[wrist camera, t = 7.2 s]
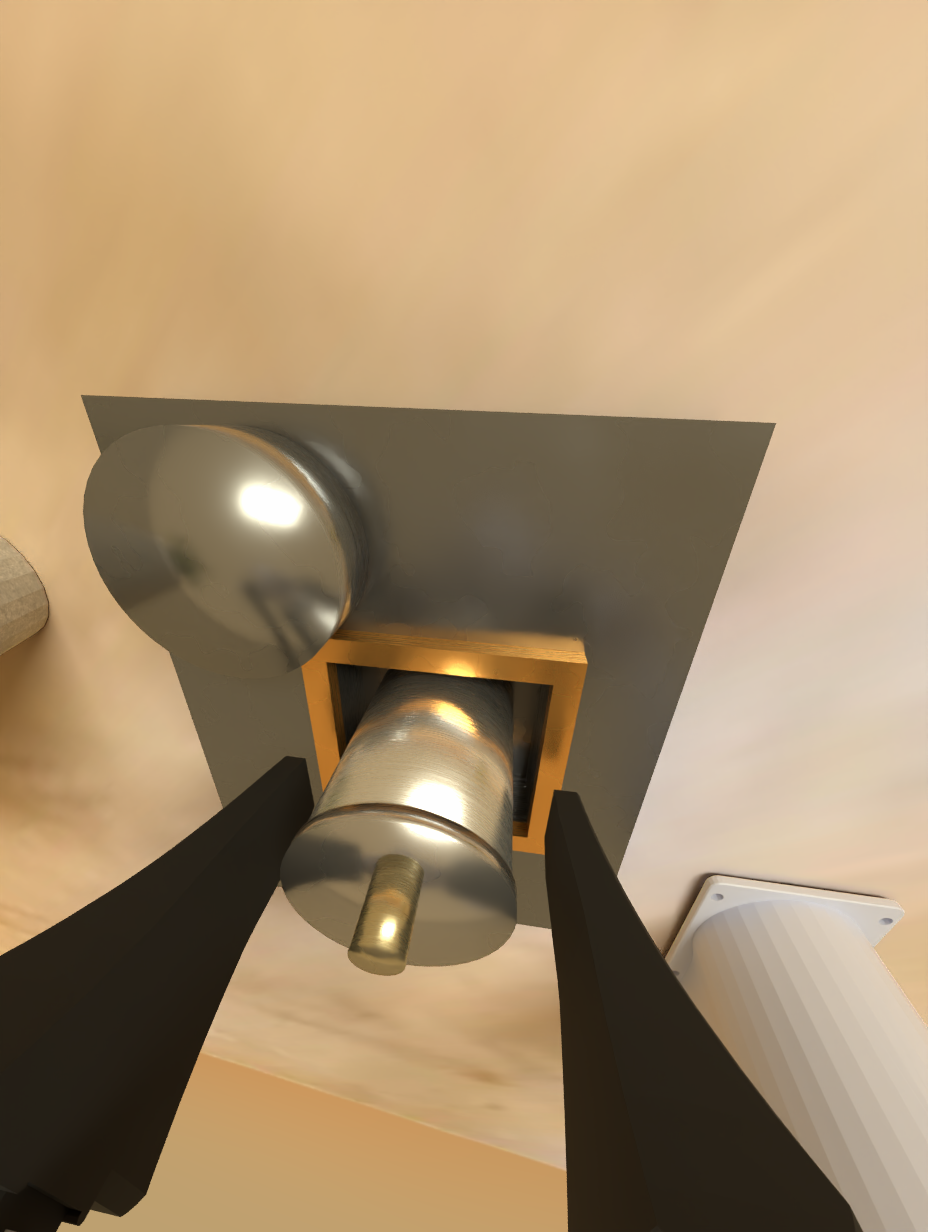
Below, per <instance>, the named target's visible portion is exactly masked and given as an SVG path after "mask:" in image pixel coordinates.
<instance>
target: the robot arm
mask: <svg viewBox="0 0 928 1232" xmlns="http://www.w3.org/2000/svg"><path fill="white" fill-rule="evenodd" d="M314 807H315V805H314V800H313V794H312V789H311V784H310V779H309V773H308V768H307V763H306V758H299V757H291V756H285V757H284V758H283V759H282V760H280V761H279V762H278V763H277V764H275V765H274V766H273V767H272V768H271V769H270V770H268V771H267V772H266V773H265V774H264V775H263V776H261V777H260V778H259V779H258V780H257V781H255V782H254V783H253V784H252V785H251V786H250V787H248V788H247V789H246V790H245V791H244V792H243V793H241V794H240V795H239V796H238V797H237V798H235V799H234V800H233V801H232V802H230V803H229V804H228V805H227V806H226V807H224V808H223V809H222V810H221V811H220V812H218V813H217V814H216V815H215V816H213V817H212V818H211V819H210V820H208V821H207V822H206V823H205V824H203V825H202V826H201V827H199V828H198V829H197V830H196V831H194V832H193V833H192V834H190V835H189V836H188V837H186V838H185V839H184V840H182V841H181V842H180V843H179V844H177V845H176V846H175V847H173V848H172V849H171V850H169V851H168V852H166V853H165V854H164V855H162V856H161V857H160V858H158V859H157V860H155V861H154V862H153V863H151V864H150V865H148V866H147V867H145V868H144V869H142V870H141V871H140V872H138V873H137V874H135V875H134V876H132V877H131V878H129V879H128V880H126V881H125V882H123V883H122V884H120V885H119V886H117V887H116V888H114V889H113V890H111V891H109V892H108V893H106V894H105V895H103V896H101V897H100V898H98V899H96V900H95V901H93V902H92V903H90V904H88V905H87V906H85V907H84V908H82V909H80V910H79V911H77V912H76V913H74V914H72V915H71V916H69V917H67V918H66V919H64V920H63V921H61V922H59V923H57V924H56V925H54V926H52V927H51V928H49V929H47V930H45V931H44V932H42V933H40V934H38V935H37V936H35V937H33V938H31V939H30V940H28V941H26V942H24V943H23V944H21V945H19V946H17V947H15V948H14V949H12V950H10V951H8V952H6V953H4V954H3V955H1V956H0V1232H56V1231H57V1229H58V1227H59V1226H60V1224H61V1222H65V1223H69V1224H73V1225H77V1226H80V1224H81V1223H82V1222H83V1221H84V1220H85V1218H86V1216H87V1214H88V1212H89V1210H94V1211H98V1212H103V1213H107V1214H111V1215H115V1216H119V1217H121V1216H123V1215H124V1214H126V1213H127V1212H129V1211H130V1210H131V1209H132V1208H133V1207H134V1206H135V1205H137V1204H138V1202H139V1201H140V1200H141V1199H142V1198H143V1197H144V1196H145V1195H146V1193H147V1190H148V1188H149V1185H150V1181H151V1179H152V1176H153V1173H154V1171H155V1168H156V1165H157V1163H158V1160H159V1157H160V1154H161V1152H162V1149H163V1146H164V1144H165V1141H166V1138H167V1136H168V1133H169V1130H170V1127H171V1125H172V1122H173V1120H174V1117H175V1114H176V1111H177V1109H178V1106H179V1103H180V1101H181V1098H182V1096H183V1093H184V1091H185V1088H186V1086H187V1083H188V1081H189V1078H190V1075H191V1073H192V1071H193V1068H194V1065H195V1063H196V1061H197V1058H198V1055H199V1053H200V1050H201V1048H202V1045H203V1043H204V1041H205V1038H206V1036H207V1033H208V1031H209V1029H210V1026H211V1024H212V1021H213V1019H214V1017H215V1014H216V1012H217V1010H218V1007H219V1005H220V1002H221V1000H222V998H223V995H224V993H225V991H226V988H227V986H228V984H229V982H230V979H231V977H232V975H233V973H234V970H235V968H236V966H237V963H238V961H239V959H240V957H241V954H242V952H243V950H244V948H245V946H246V944H247V942H248V940H249V938H250V936H251V934H252V932H253V930H254V928H255V926H256V924H257V922H258V920H259V919H260V917H261V915H262V913H263V911H264V909H265V907H266V906H267V904H268V902H269V900H270V898H271V896H272V894H273V893H274V891H275V889H276V887H277V885H278V883H279V881H280V880H281V879H280V868H281V864H282V860H283V858H284V856H285V854H286V852H287V850H288V848H289V846H290V844H291V842H292V840H293V839H294V837H295V835H296V833H297V832H298V831H299V830H300V828H301V827H302V826H303V825H304V824H305V823H307V822H308V820H309V818H310V816H311V814H312V812H313V809H314ZM544 845H545V879H546V888H547V896H548V905H549V913H550V921H551V929H552V938H553V946H554V954H555V962H556V970H557V979H558V989H559V1000H560V1018H561V1039H562V1060H563V1084H564V1108H565V1137H566V1168H567V1198H568V1199H567V1200H568V1232H928V1027H927V1025H926V1024H925V1023H924V1021H923V1020H922V1018H921V1017H920V1015H919V1014H918V1012H917V1011H916V1009H915V1008H914V1006H913V1005H912V1004H911V1002H910V1001H909V999H908V998H907V996H906V995H905V993H904V992H903V990H902V989H901V987H900V986H899V985H898V983H897V982H896V980H895V979H894V977H893V976H892V974H891V973H890V971H889V970H888V968H887V967H886V966H885V964H884V963H883V961H882V960H881V958H880V957H879V955H878V954H877V952H876V951H875V949H874V948H873V947H874V946H875V945H876V944H877V943H878V942H879V941H880V940H881V939H882V938H883V937H884V936H885V935H886V934H887V933H888V932H889V931H890V930H891V929H892V928H893V927H894V926H895V925H896V924H897V923H898V922H899V921H900V919H901V918H902V917H903V916H904V914H905V912H904V910H903V908H902V907H901V906H900V905H899V903H898V902H896V901H894V900H891V899H886V898H878V897H871V896H864V895H857V894H850V893H843V892H835V891H828V890H821V889H814V888H807V887H799V886H792V885H785V884H778V883H771V882H764V881H756V880H749V879H742V878H735V877H728V876H720V875H715V876H711V877H709V878H708V879H707V880H706V881H705V883H704V885H703V887H702V889H701V891H700V892H699V894H698V896H697V898H696V900H695V902H694V904H693V906H692V908H691V910H690V912H689V914H688V915H687V917H686V919H685V921H684V923H683V925H682V927H681V929H680V931H679V933H678V935H677V936H676V938H675V940H674V942H673V944H672V946H671V948H670V950H669V952H668V954H667V956H666V957H665V959H664V957H663V956H662V954H661V953H660V951H659V949H658V948H657V946H656V945H655V943H654V941H653V940H652V938H651V936H650V935H649V933H648V931H647V930H646V928H645V926H644V925H643V923H642V921H641V920H640V918H639V916H638V914H637V913H636V911H635V909H634V907H633V906H632V904H631V902H630V900H629V899H628V897H627V895H626V893H625V891H624V889H623V888H622V886H621V884H620V882H619V880H618V878H617V876H616V874H615V872H614V870H613V868H612V866H611V865H610V863H609V861H608V859H607V857H606V855H605V853H604V851H603V849H602V847H601V844H600V842H599V840H598V838H597V836H596V834H595V831H594V829H593V827H592V825H591V823H590V820H589V818H588V816H587V813H586V811H585V808H584V806H583V803H582V801H581V798H580V796H579V794H578V793H577V792H571V791H563V790H555V789H554V792H553V797H552V802H551V807H550V812H549V817H548V822H547V827H546V832H545V836H544Z"/></svg>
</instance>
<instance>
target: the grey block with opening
mask: <svg viewBox="0 0 928 1232" xmlns="http://www.w3.org/2000/svg"><path fill="white" fill-rule="evenodd" d="M81 397H82V400H83V403H84V406H85V409H86V412H87V414H88V417H89V420H90V423H91V426H92V429H93V432H94V435H95V438H96V441H97V443H98V446H99V449H100V452H101V456H100V457H99V459H98V460H97V462H96V463H95V465H94V466H93V468H92V471H91V473H90V476H89V478H88V481H87V485H86V490H85V494H84V507H83V515H84V527H85V532H86V537H87V541H88V545H89V548H90V551H91V554H92V557H93V560H94V563H95V565H96V567H97V569H98V571H99V574H100V576H101V578H102V579H103V581H104V583H105V584H106V586H107V588H108V590H109V591H110V593H111V594H112V596H113V597H114V598H115V600H116V601H117V603H118V604H119V605H120V607H121V608H122V609H123V610H124V611H125V613H126V614H127V615H128V616H129V617H130V619H131V620H132V621H133V622H134V623H135V624H136V625H137V626H138V627H139V628H140V629H141V630H142V631H144V632H145V633H146V634H147V635H148V636H149V637H151V638H152V639H153V640H154V641H155V642H157V643H158V644H160V645H161V646H162V647H164V648H165V649H167V650H168V651H169V652H170V655H171V658H172V661H173V664H174V667H175V670H176V673H177V676H178V678H179V681H180V684H181V687H182V690H183V693H184V696H185V699H186V702H187V705H188V707H189V710H190V713H191V716H192V719H193V722H194V725H195V728H196V731H197V734H198V736H199V739H200V742H201V745H202V748H203V751H204V754H205V757H206V760H207V763H208V765H209V768H210V771H211V774H212V777H213V780H214V783H215V786H216V789H217V792H218V794H219V797H220V800H221V803H222V806H223V808H224V807H226V806H227V805H228V804H229V803H230V802H232V801H233V800H234V799H235V798H237V797H238V796H239V795H240V794H241V793H243V792H244V791H245V790H246V789H247V788H248V787H250V786H251V785H252V784H253V783H254V782H255V781H257V780H258V779H259V778H260V777H261V776H263V775H264V774H265V773H266V772H267V771H268V770H270V769H271V768H272V767H273V766H274V765H275V764H277V763H278V762H279V761H280V760H282V759H283V758H284V757H285V756H291V757H299V758H306V763H307V768H308V773H309V779H310V784H311V789H312V794H313V800H314V805H315V807H316V805H317V803H318V801H319V799H320V797H321V795H322V793H323V792H324V790H325V788H326V786H327V784H328V782H329V780H330V778H331V776H332V774H333V773H334V771H335V769H336V767H337V765H338V763H339V761H340V759H341V757H342V755H343V754H344V752H345V750H346V748H347V746H348V744H349V742H350V740H351V738H352V736H353V735H354V733H355V731H356V729H357V727H358V725H359V723H360V721H361V719H362V717H363V716H364V714H365V712H366V710H367V708H368V706H369V704H370V702H371V700H372V698H373V697H374V695H375V693H376V691H377V689H378V687H379V685H380V683H381V681H382V679H383V678H384V676H385V674H386V672H387V670H388V668H389V669H399V670H409V671H419V672H429V673H439V674H449V675H458V676H468V677H478V678H488V679H498V680H508V681H509V682H510V685H511V688H512V691H513V843H512V875H513V877H514V879H515V883H516V888H517V921H516V924H522V925H529V926H535V927H542V928H548V929H551V921H550V913H549V905H548V896H547V888H546V879H545V845H544V836H545V832H546V827H547V822H548V817H549V812H550V807H551V802H552V797H553V792H554V789H555V790H563V791H571V792H577V793H578V794H579V796H580V798H581V801H582V803H583V806H584V808H585V811H586V813H587V816H588V818H589V820H590V823H591V825H592V827H593V829H594V831H595V834H596V836H597V838H598V840H599V842H600V844H601V847H602V849H603V851H604V853H605V855H606V857H607V859H608V861H609V863H610V865H611V866H612V868H613V870H614V872H615V874H616V876H617V874H618V871H619V868H620V865H621V863H622V860H623V857H624V854H625V851H626V848H627V846H628V843H629V840H630V837H631V834H632V831H633V829H634V826H635V823H636V820H637V817H638V814H639V811H640V809H641V806H642V803H643V800H644V797H645V794H646V792H647V789H648V786H649V783H650V780H651V777H652V774H653V772H654V769H655V766H656V763H657V760H658V757H659V755H660V752H661V749H662V746H663V743H664V740H665V738H666V735H667V732H668V729H669V726H670V723H671V720H672V718H673V715H674V712H675V709H676V706H677V703H678V701H679V698H680V695H681V692H682V689H683V686H684V684H685V681H686V678H687V675H688V672H689V669H690V666H691V664H692V661H693V658H694V655H695V652H696V649H697V647H698V644H699V641H700V638H701V635H702V632H703V629H704V627H705V624H706V621H707V618H708V615H709V612H710V610H711V607H712V604H713V601H714V598H715V595H716V593H717V590H718V587H719V584H720V581H721V578H722V575H723V573H724V570H725V567H726V564H727V561H728V558H729V556H730V553H731V550H732V547H733V544H734V541H735V538H736V536H737V533H738V530H739V527H740V524H741V521H742V519H743V516H744V513H745V510H746V507H747V504H748V502H749V499H750V496H751V493H752V490H753V487H754V484H755V482H756V479H757V476H758V473H759V470H760V467H761V465H762V462H763V459H764V456H765V453H766V450H767V447H768V445H769V442H770V439H771V436H772V433H773V430H774V428H775V425H776V423H760V422H735V421H711V420H686V419H661V418H636V417H611V416H586V415H562V414H537V413H512V412H487V411H462V410H437V409H413V408H388V407H363V406H338V405H313V404H288V403H263V402H239V401H214V400H189V399H164V398H139V397H114V396H90V395H81ZM315 807H314V809H315ZM314 809H313V811H314ZM312 813H313V812H312ZM277 886H280V887H282V883H281V880H280V881H279V883H278V885H277Z"/></svg>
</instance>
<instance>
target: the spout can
mask: <svg viewBox="0 0 928 1232" xmlns="http://www.w3.org/2000/svg"><path fill="white" fill-rule="evenodd" d="M512 843H513V691H512V688H511V685H510V682H509V681H508V680H498V679H488V678H478V677H468V676H458V675H449V674H439V673H429V672H419V671H409V670H399V669H389V668H388V670H387V672H386V674H385V676H384V678H383V679H382V681H381V683H380V685H379V687H378V689H377V691H376V693H375V695H374V697H373V698H372V700H371V702H370V704H369V706H368V708H367V710H366V712H365V714H364V716H363V717H362V719H361V721H360V723H359V725H358V727H357V729H356V731H355V733H354V735H353V736H352V738H351V740H350V742H349V744H348V746H347V748H346V750H345V752H344V754H343V755H342V757H341V759H340V761H339V763H338V765H337V767H336V769H335V771H334V773H333V774H332V776H331V778H330V780H329V782H328V784H327V786H326V788H325V790H324V792H323V793H322V795H321V797H320V799H319V801H318V803H317V805H316V807H315V809H314V811H313V813H312V814H311V816H310V818H309V820H308V822H307V823H305V824H304V825H303V826H302V827H301V828H300V830H299V831H298V832H297V833H296V835H295V837H294V839H293V840H292V842H291V844H290V846H289V848H288V850H287V852H286V854H285V856H284V858H283V860H282V864H281V868H280V879H281V883H282V887H283V890H284V892H285V895H286V897H287V898H288V900H289V902H290V903H291V905H292V906H293V907H294V909H295V910H296V911H297V912H298V914H299V915H300V916H301V917H302V918H303V919H304V920H305V921H306V922H308V923H309V924H310V925H311V926H313V927H314V928H315V929H316V930H318V931H319V932H321V933H322V934H324V935H325V936H327V937H328V938H330V939H332V940H333V941H335V942H337V943H339V944H341V945H343V946H345V947H347V948H349V950H348V958H349V959H350V961H351V962H352V963H353V964H354V965H355V966H357V967H358V968H360V969H362V970H364V971H366V972H369V973H372V974H376V975H384V976H390V975H396V974H399V973H401V972H402V971H403V970H404V969H405V966H406V965H414V966H450V965H458V964H463V963H468V962H471V961H475V960H478V959H480V958H483V957H485V956H487V955H489V954H491V953H493V952H494V951H496V950H498V949H499V948H500V947H501V946H502V945H504V944H505V942H506V941H507V940H508V939H509V938H510V936H511V934H512V933H513V931H514V929H515V925H516V921H517V888H516V883H515V879H514V877H513V875H512Z"/></svg>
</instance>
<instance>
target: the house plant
mask: <svg viewBox="0 0 928 1232" xmlns="http://www.w3.org/2000/svg"><path fill="white" fill-rule="evenodd" d="M47 618H48V601H47V597H46V594H45V591H44V587H43V586H42V584H41V582H40V580H39V578H38V576H37V575H36V573H35V571H34V570H33V569H32V567H31V566H30V565H29V563H28V562H27V561H26V560H25V558H24V557H23V556H22V555H21V554H20V553H19V552H18V551H17V550H16V549H15V548H14V547H13V546H12V545H11V544H10V543H9V542H8V541H6V540H5V539H4V538H2V537H0V655H2V654H3V653H5V652H7V651H8V650H10V649H11V648H13V647H15V646H16V645H18V644H19V643H21V642H23V641H24V640H26V639H27V638H29V637H31V636H32V635H34V634H36V633H37V632H38V631H39V630H40V629H41V628H43V627H44V625H45V623H46V620H47Z"/></svg>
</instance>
